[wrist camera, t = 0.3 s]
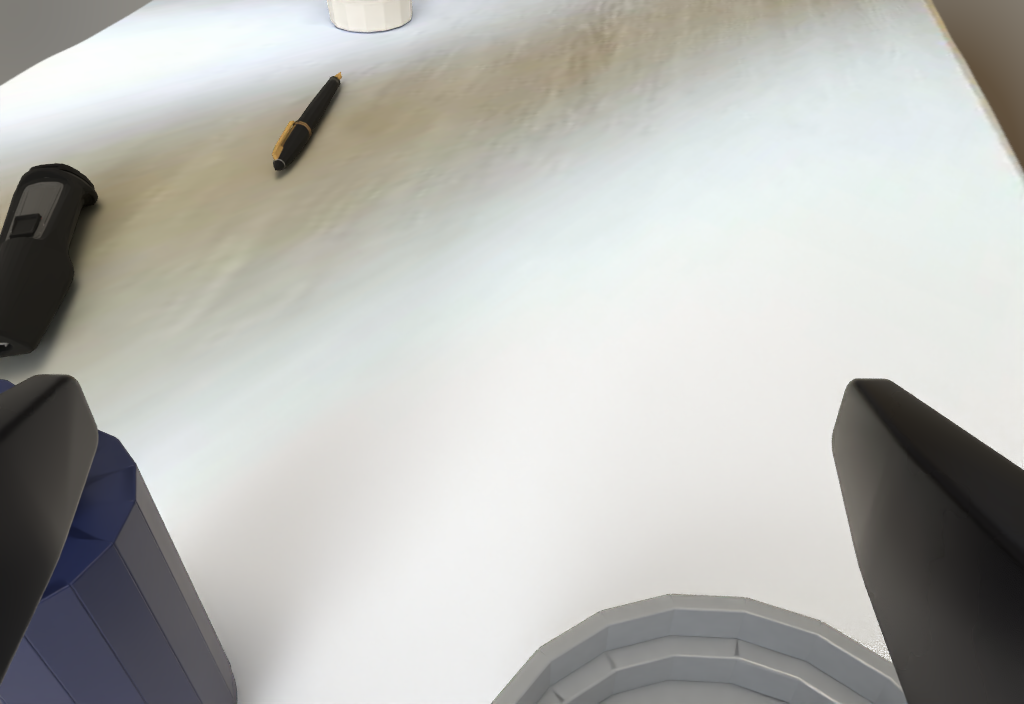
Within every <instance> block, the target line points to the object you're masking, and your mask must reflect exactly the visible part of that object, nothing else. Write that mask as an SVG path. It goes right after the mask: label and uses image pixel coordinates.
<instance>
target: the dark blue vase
mask: <svg viewBox="0 0 1024 704" xmlns="http://www.w3.org/2000/svg"><path fill="white" fill-rule="evenodd" d="M14 386H15V385H14V384H12V383H11V382H9V381H8V380H4V379H0V394H1V393H3V392H4V391H6V390H8V389H10V388H12V387H14ZM0 704H237V690H236V684H235V679H234V676H233V673H232V671H231V666H230V663H229V661H228V659H227V656H226V654H225V652H224V650H223V648H222V646H221V644H220V642H219V639H218V637H217V635H216V633H215V631H214V629H213V627H212V624H211V622H210V620H209V618H208V616H207V614H206V612H205V610H204V607H203V605H202V603H201V601H200V599H199V597H198V595H197V593H196V590H195V588H194V586H193V584H192V582H191V580H190V578H189V575H188V573H187V571H186V569H185V567H184V565H183V563H182V561H181V558H180V556H179V554H178V552H177V550H176V548H175V546H174V544H173V541H172V539H171V537H170V535H169V533H168V531H167V529H166V527H165V524H164V522H163V520H162V518H161V516H160V514H159V512H158V509H157V507H156V505H155V503H154V501H153V499H152V497H151V495H150V492H149V490H148V488H147V486H146V484H145V482H144V480H143V478H142V475H141V473H140V471H139V469H138V467H137V465H136V463H135V462H134V460H133V459H132V457H131V456H130V455H129V453H128V452H127V450H126V449H125V448H124V446H123V445H122V443H121V442H120V441H119V439H117V438H116V437H114V436H112V435H109V434H107V433H105V432H102V431H100V430H98V446H97V450H96V453H95V456H94V459H93V462H92V464H91V467H90V470H89V473H88V476H87V479H86V482H85V485H84V488H83V491H82V494H81V497H80V500H79V503H78V506H77V509H76V512H75V515H74V518H73V521H72V524H71V527H70V530H69V533H68V536H67V539H66V542H65V544H64V547H63V550H62V552H61V555H60V558H59V560H58V562H57V565H56V567H55V569H54V571H53V574H52V576H51V578H50V580H49V583H48V585H47V587H46V589H45V591H44V593H43V595H42V598H41V600H40V602H39V604H38V606H37V608H36V610H35V613H34V615H33V617H32V619H31V621H30V623H29V625H28V628H27V630H26V632H25V634H24V636H23V638H22V640H21V642H20V645H19V647H18V649H17V651H16V653H15V655H14V657H13V660H12V662H11V664H10V666H9V668H8V670H7V672H6V675H5V677H4V679H3V681H2V683H1V685H0Z"/></svg>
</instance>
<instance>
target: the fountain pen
mask: <svg viewBox="0 0 1024 704" xmlns="http://www.w3.org/2000/svg"><path fill="white" fill-rule="evenodd" d="M341 78H342V76H341V72H340V73H338V74H337V75H335V76H332V77H330V79H329V80H328V82H327V83H326V84H325V85H324V86H323V88H322V89H321V90H320V91H319V93H318V94H317V95H316V97H315V98H314V99H313V100H312V102H311V103H310V104H309V106H308V107H307V108H306V110H305V111H304V113H303V114H302V116H301V117H300V118H299V120H298V121H296V122H294V121H290V122H289V123H288V125H287V127H286V128H285V130H284V132H283V133H282V135H281V137H280V138H279V140H278V142H277V143H276V145H275V148H274V150H273V153H272V156H273V158H274V161H273V165H274V168H275V170H284V169H285V168H286V167H287V166H288V165H289V164H290V163H291V162H292V161H293V160H294V159H295V157H296V156H297V155H298V154H299V152H300V151H301V150H302V148H303V147H304V145H305V144H306V142H307V141H308V139H309V138H310V136H311V135H312V133H313V129H314V128H315V126H316V124H317V123H318V121H319V120H320V118H321V117H322V115H323V113H324V111H325V110H326V108H327V106H328V104H329V103H330V101H331V99H332V97H333V96H334V94H335V92H336V90H337V88H338V87H339V86H340V79H341ZM292 125H293V126H292ZM291 127H292V128H291ZM290 128H291V129H290ZM289 130H290V131H289Z"/></svg>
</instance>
